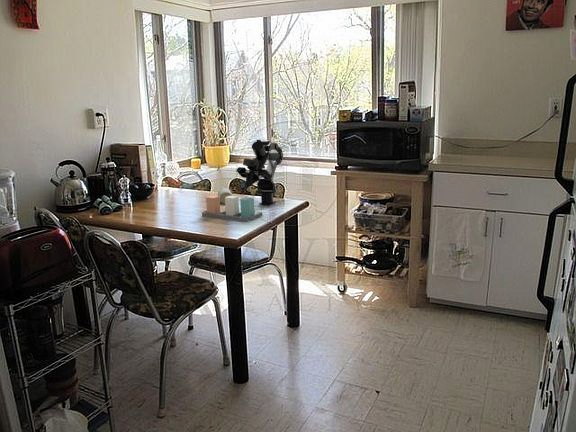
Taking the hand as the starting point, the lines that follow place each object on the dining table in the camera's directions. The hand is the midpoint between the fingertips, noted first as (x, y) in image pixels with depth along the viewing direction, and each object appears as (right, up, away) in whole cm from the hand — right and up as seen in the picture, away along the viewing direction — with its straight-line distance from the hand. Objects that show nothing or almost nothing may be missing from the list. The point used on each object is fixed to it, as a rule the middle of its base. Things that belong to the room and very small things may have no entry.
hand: (246, 187), depth 245 cm
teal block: (+2, -15, -11) cm, 18 cm away
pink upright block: (-15, -14, -4) cm, 21 cm away
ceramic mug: (-12, -7, +24) cm, 27 cm away
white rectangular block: (-6, -14, -6) cm, 16 cm away
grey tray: (-6, -15, -6) cm, 17 cm away
